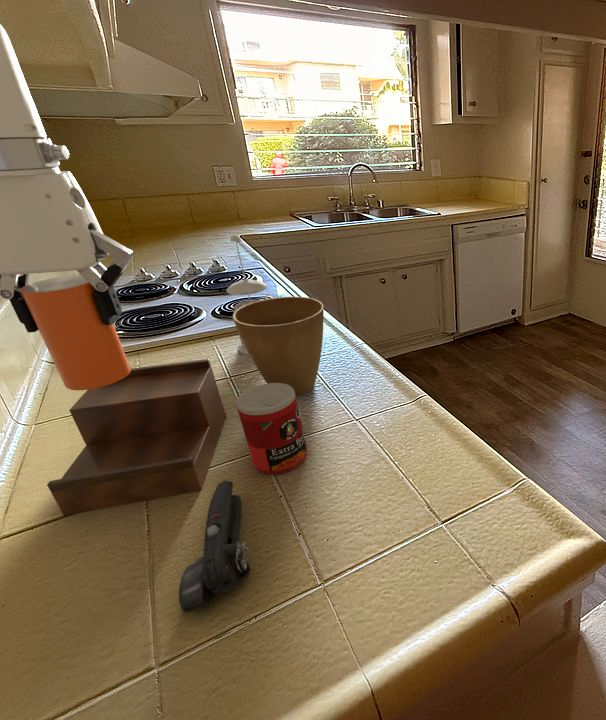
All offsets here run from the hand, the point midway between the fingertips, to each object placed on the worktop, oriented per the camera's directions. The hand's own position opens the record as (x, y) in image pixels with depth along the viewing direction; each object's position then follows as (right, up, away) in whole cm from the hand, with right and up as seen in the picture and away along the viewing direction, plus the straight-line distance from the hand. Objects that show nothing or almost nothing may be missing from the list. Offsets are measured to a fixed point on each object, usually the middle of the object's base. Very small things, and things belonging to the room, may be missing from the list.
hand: (76, 323), depth 54 cm
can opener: (+17, -27, +1) cm, 32 cm away
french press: (-2, -1, +52) cm, 52 cm away
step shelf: (-2, -19, +16) cm, 25 cm away
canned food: (+17, -19, +16) cm, 30 cm away
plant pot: (+12, -10, +35) cm, 38 cm away
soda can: (0, -6, +3) cm, 7 cm away
